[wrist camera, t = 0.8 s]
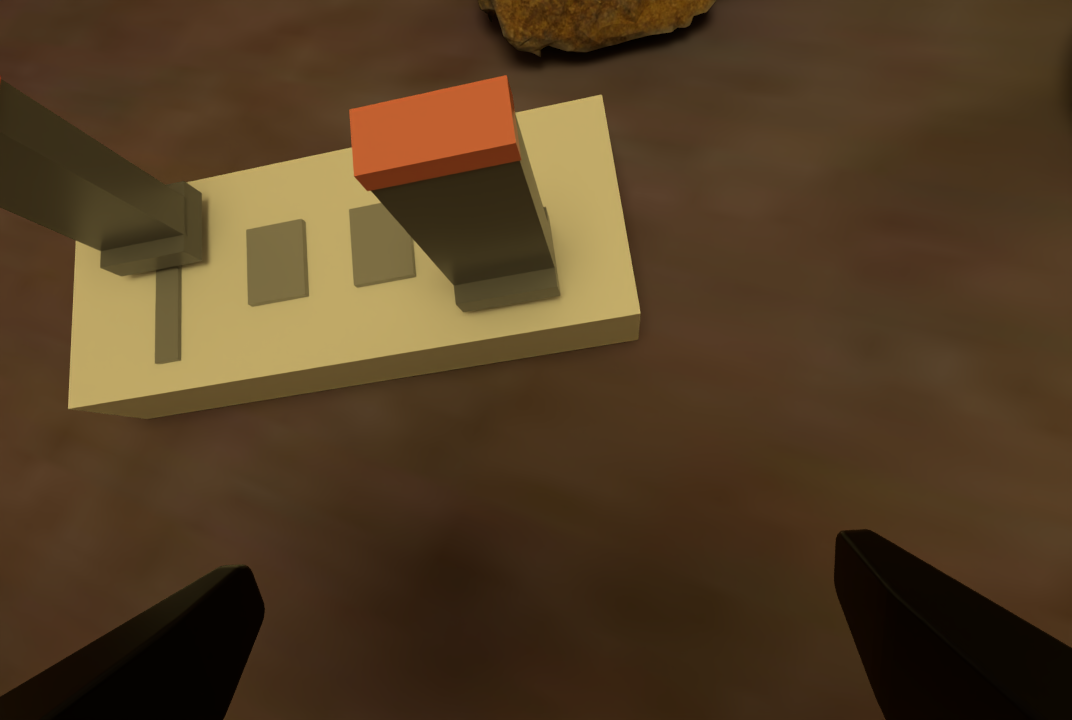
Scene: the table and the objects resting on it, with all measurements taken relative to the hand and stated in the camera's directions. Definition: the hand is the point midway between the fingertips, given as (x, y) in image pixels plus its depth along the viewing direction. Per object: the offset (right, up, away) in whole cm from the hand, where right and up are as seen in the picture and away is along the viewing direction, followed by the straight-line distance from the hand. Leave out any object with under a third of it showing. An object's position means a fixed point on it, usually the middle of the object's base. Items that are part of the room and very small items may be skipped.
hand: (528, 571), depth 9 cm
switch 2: (-1, +7, +13) cm, 15 cm away
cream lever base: (-7, +7, +18) cm, 21 cm away
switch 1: (-15, +8, +16) cm, 23 cm away
